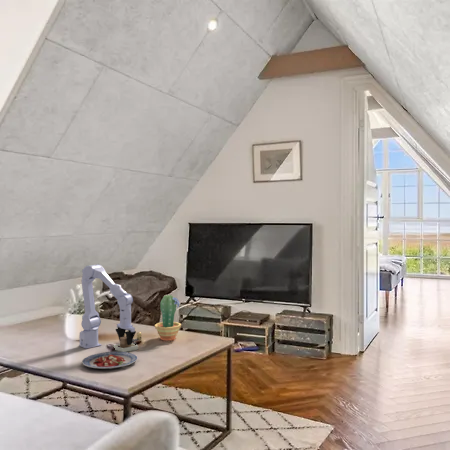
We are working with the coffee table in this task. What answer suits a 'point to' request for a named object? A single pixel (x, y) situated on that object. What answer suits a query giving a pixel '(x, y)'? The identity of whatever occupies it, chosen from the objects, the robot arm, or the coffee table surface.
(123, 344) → the block
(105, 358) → the ceramic plate
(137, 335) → the brass cylinder knob
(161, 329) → the potted cactus
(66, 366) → the coffee table surface
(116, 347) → the tray
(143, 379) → the coffee table surface
